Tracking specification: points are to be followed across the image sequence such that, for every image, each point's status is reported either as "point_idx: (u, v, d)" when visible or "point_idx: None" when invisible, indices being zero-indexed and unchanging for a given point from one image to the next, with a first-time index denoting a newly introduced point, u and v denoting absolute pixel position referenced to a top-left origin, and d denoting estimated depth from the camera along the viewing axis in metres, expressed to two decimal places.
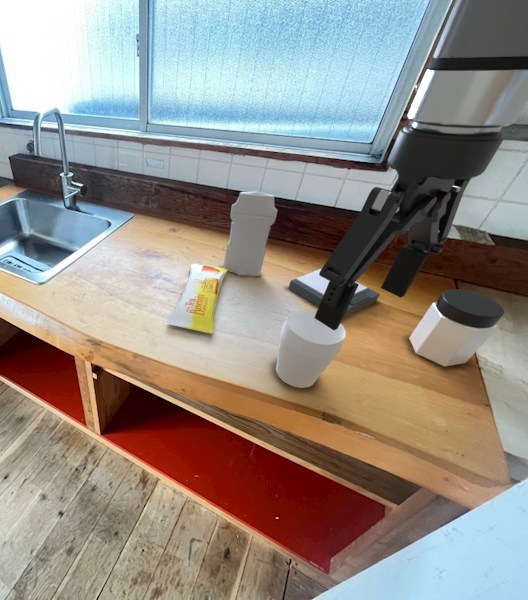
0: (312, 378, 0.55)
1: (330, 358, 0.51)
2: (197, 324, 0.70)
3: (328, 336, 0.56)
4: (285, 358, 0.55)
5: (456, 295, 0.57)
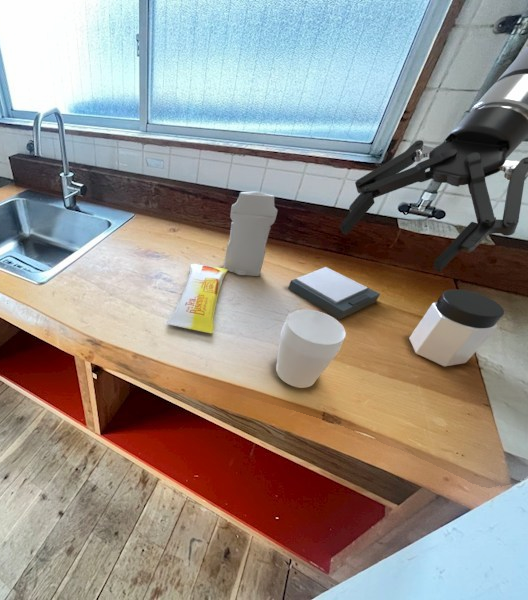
0: (312, 378, 0.55)
1: (330, 358, 0.51)
2: (197, 324, 0.70)
3: (328, 336, 0.56)
4: (285, 358, 0.55)
5: (456, 295, 0.57)
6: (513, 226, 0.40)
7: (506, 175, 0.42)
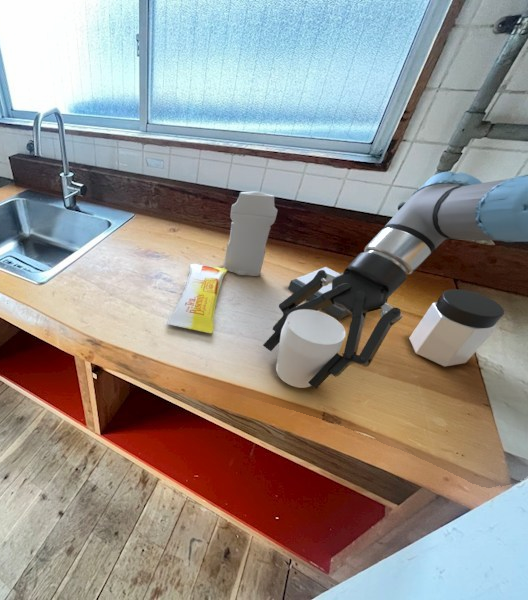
0: None
1: (330, 358, 0.51)
2: (197, 324, 0.70)
3: (328, 336, 0.56)
4: (285, 358, 0.55)
5: (456, 295, 0.57)
6: (363, 363, 0.48)
7: (381, 316, 0.50)
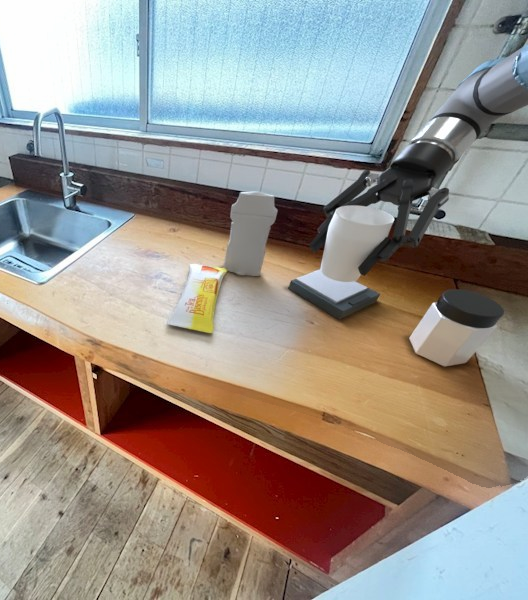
0: None
1: (379, 242, 0.54)
2: (197, 324, 0.70)
3: None
4: (333, 250, 0.58)
5: (456, 295, 0.57)
6: (412, 241, 0.51)
7: (428, 199, 0.53)
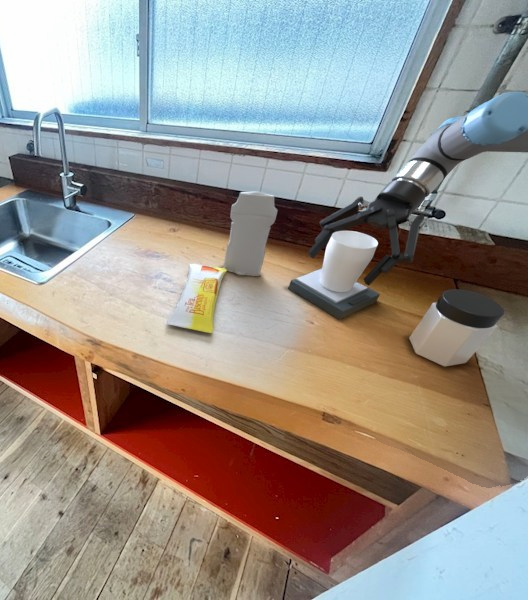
0: (350, 282, 0.72)
1: (366, 261, 0.68)
2: (197, 324, 0.70)
3: None
4: (330, 267, 0.72)
5: (456, 295, 0.57)
6: (409, 258, 0.63)
7: (409, 224, 0.66)
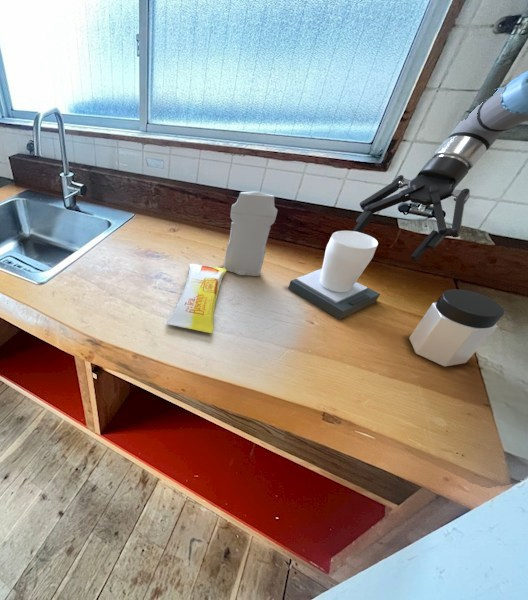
0: (350, 282, 0.72)
1: (366, 261, 0.68)
2: (197, 324, 0.70)
3: None
4: (330, 267, 0.72)
5: (456, 295, 0.57)
6: (457, 232, 0.65)
7: (454, 199, 0.68)
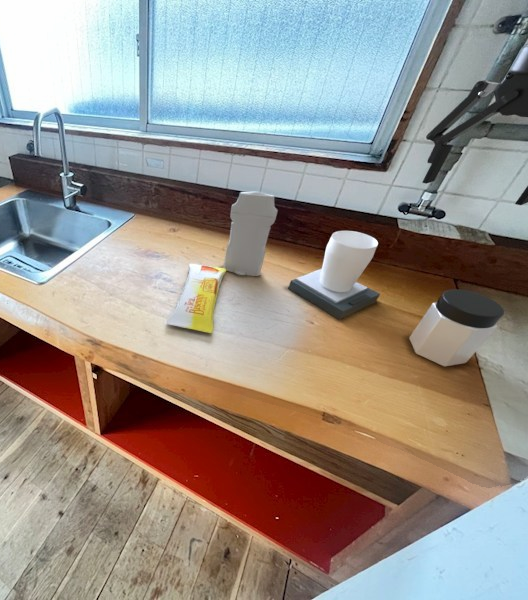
0: (350, 282, 0.72)
1: (366, 261, 0.68)
2: (196, 324, 0.70)
3: None
4: (330, 267, 0.72)
5: (456, 295, 0.57)
6: None
7: None
